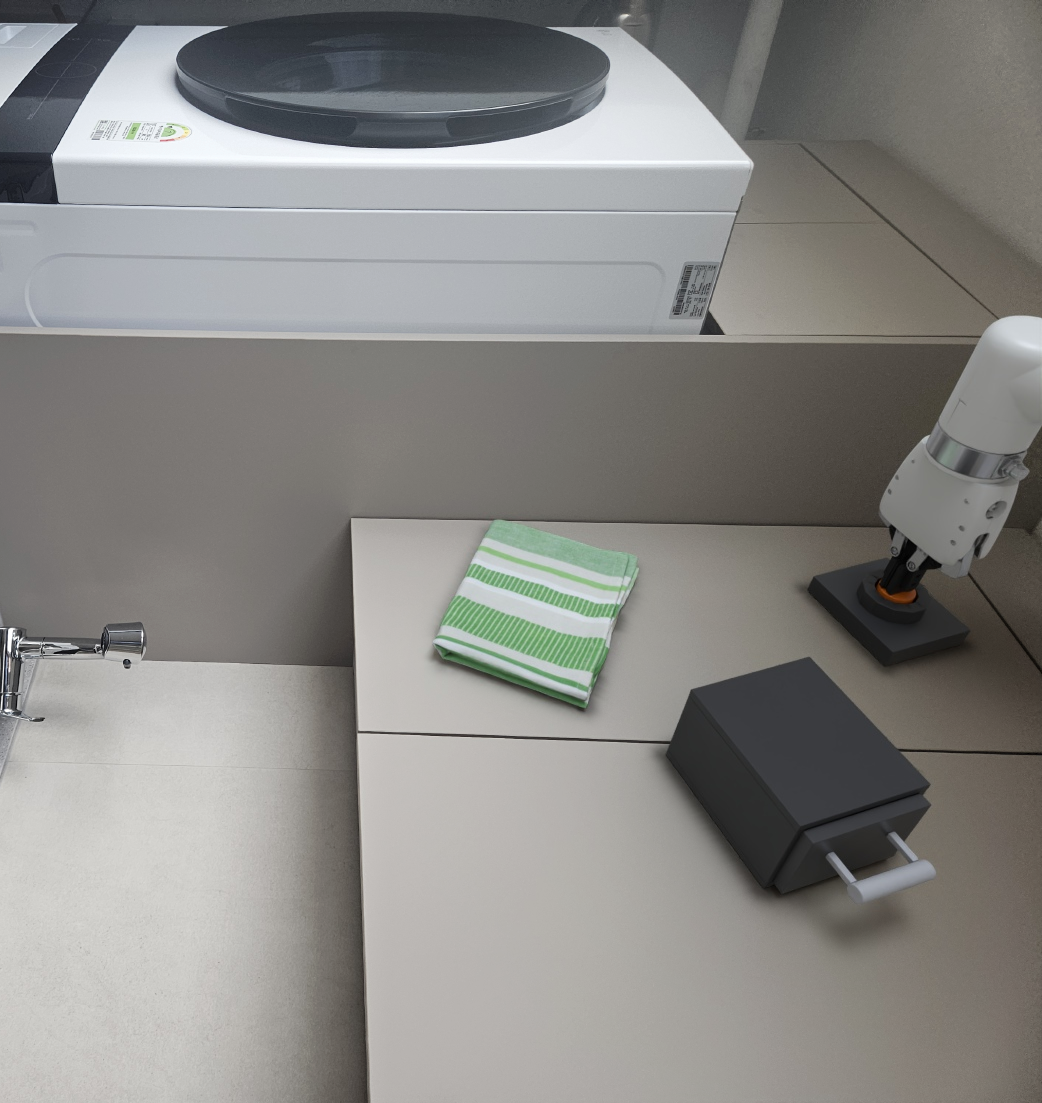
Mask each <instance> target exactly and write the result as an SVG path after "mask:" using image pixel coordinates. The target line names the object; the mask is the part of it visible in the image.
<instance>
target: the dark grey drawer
mask: <svg viewBox="0 0 1042 1103" xmlns="http://www.w3.org/2000/svg"><path fill="white" fill-rule="evenodd" d="M931 806H932V804H931V802H930V801H929V800H928V799H927V798H926V797H925V795H922V794H921V793H919V794H916V795H913V796H910V797H907V798H904V799H901V800H898V801H894V802H891V803H888V804H887V803H885V804H882V805H878V806H875V807H872V808H869V809H866V810H863V811H860V812H857V813H854V814H851V815H848V816H844V817H841V818H838V819H835V820H832V821H829V822H826V823H823V824H820V825H817V826H813V827H810V828H807V829H805V830H804V831H803V832H802V834H801V836H800V837H799V839H798V841H797V842H796V844H795V845H794V847H793V849H792V850H791V852H790V854H789V855H788V857H787V859H786V860H785V862H784V864H783V865H782V867H781V869H780V870H779V872H778V874H777V875H776V877H775V879H774V880H773V883H774V884H775V885H774V886H775V887H776V888H777V890H778V891H779V892H780V895H781V894H786V893H789V892H792V891H795V890H798V889H800V888H804V887H806V886H807V887H808V886H809V885H812V884H816V883H819V882H822V881H824V880H827V879H830V878H833V877H836V876H840V878H841V880H843V882H844V883H845V884H846V885H847V887H846V891H847V895H848V897H849V898H850V900H851V901H852V902H853V903H854V904H856V905H864V904H867V903H870V902H872V901H876V900H878V899H881V898H884V897H887V896H890V895H893V894H896V893H899V892H902V891H904V890H907V889H910V888H913V887H916V886H919V885H921V884H925V883H927V882H930V881H933V880H934V879H936V877H937V872H936V868H935V867H934V865H933V864H932V863H931V862H930V861H929V860H926V859H923V858H922V859H919V857H918V856H917V855H916V854H915V853H914V852H913V851H912V850H911V848H910V847H909V846H908V844H906V842H905V841H906V840H907V839H908V837H909V836H910V835H911V833H912V832H913V831H914V829H915V828H916V827H917V825H918V824H919V822H920V821H921V820H922V819H923V817H924V816H925V814H926V813H927V812H928V811H929V809H930V808H931ZM897 852H899V853H900V855H901V856H902V857H903V858H904V860H906V862H907V864H904V865H902V866H899V867H895V868H892V869H890V870H887V871H884V872H880V873H878V874H874V875H872V876H869V877H867V878H864V879H863V878H862V879H861V880H857V879H856V878H855V876H854V875H853V874H852V873H851V871H854V870H857V869H859V868H863V867H865V866H868V865H872V864H874V863H878V862H881V861H883V860H886V859H889V858H893V857H894V856H895V855H896V853H897Z"/></svg>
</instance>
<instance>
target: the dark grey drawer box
mask: <svg viewBox="0 0 1042 1103" xmlns="http://www.w3.org/2000/svg"><path fill="white" fill-rule="evenodd" d="M665 755H666V757H667V758H668V759H669V761H670V762H671V764H672V765H673V766H674V768H675V769H676V770H677V772H678V773H679V774H680V776H681V777H682V779H683V780H684V781H685V783H686V784H687V786H688V787H689V788H690V790H691V791H692V793H693V794H694V795H695V797H696V798H697V800H698V801H699V802H700V803H701V805H702V806H703V808H704V809H705V811H706V812H707V813H708V814H709V816H710V817H711V819H712V820H713V821H714V823H715V825H716V826H717V827H718V828H719V830H720V831H721V833H722V834H723V836H724V837H725V838H726V840H727V841H728V842H729V843H730V845H731V847H732V848H733V849H734V850H735V852H736V854H737V855H738V856H739V857H740V859H741V860H742V862H743V863H744V865H745V866H746V867H747V869H748V870H749V871H750V873H751V874H752V875H753V876H754V878H755V880H756V881H757V882H758V884H759V885H760V886H761V888H762V889H766V888H769V887H771V886H775V884H774V883H773V880H774V879H775V877H776V875H777V874H778V872H779V870H780V869H781V867H782V865H783V864H784V862H785V860H786V859H787V857H788V855H789V854H790V852H791V850H792V849H793V847H794V845H795V844H796V842H797V841H798V839H799V837H800V836H801V834H802V832H803V831H804V830H805V829H807V828H810V827H813V826H817V825H820V824H823V823H826V822H829V821H832V820H835V819H838V818H841V817H844V816H848V815H851V814H854V813H857V812H860V811H863V810H866V809H869V808H872V807H875V806H878V805H882V804H885V803H887V804H888V803H891V802H894V801H898V800H901V799H904V798H907V797H910V796H913V795H916V794H919V793H921V794H922V795H923V796H925V795H924V794H926V793H927V790H928V789H929V788H930V786H931V785H932V784H931V783H930V781H928V779H927V778H926V777H925V775H923V774H922V773H921V772H920V771H919V770H918V769H917V768H916V767H915V766H914V764H912V763H911V761H909V759H908V758H906V756H905V755H904V754H903V753H902V752H901V751H900V750H899V749H898V747H897V746H895V744H894V743H893V742H892V741H891V740H890V739H889V738H888V737H887V736H886V735H885V734H884V733H883V732H882V731H881V730H880V729H879V727H877V726H876V724H874V723H873V721H872V720H871V719H870V718H869V717H868V716H866V714H865V713H864V712H863V711H862V710H861V709H860V708H859V707H858V706H857V705H856V703H855V702H853V701H852V699H851V698H850V697H849V696H848V695H847V694H846V693H845V692H844V691H843V690H842V689H841V688H840V687H839V686H838V684H836V683H835V681H833V679H832V678H831V677H830V676H829V675H828V674H827V673H826V672H825V671H824V670H823V669H822V668H821V667H820V666H819V665H818V664H817V663H816V662H815V660H814V659H813V658H812V657H811V656H805V657H803V658H799V659H795V660H792V661H788V662H785V663H781V664H778V665H774V666H770V667H766V668H762V669H760V670H756V671H751V672H748V673H744V674H741V675H738V676H734V677H731V678H728V679H727V678H726V679H724V680H720V681H716V682H713V683H709V684H705V685H702V686H701V685H700V686H698V687H694V688H691V689H690V691H689V694H688V695H687V699H686V702H685V703H684V706H683V709H682V711H681V714H680V717H679V719H678V721H677V724H676V726H675V729H674V732H673V735H672V737H671V740H670V741H669V744H668V747H667V750H666V753H665Z"/></svg>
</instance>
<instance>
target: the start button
mask: <svg viewBox="0 0 1042 1103" xmlns="http://www.w3.org/2000/svg"><path fill="white" fill-rule="evenodd" d="M880 581H881V580H880ZM879 583H880V582H879ZM879 583H878V585H877V587H876V591H877V592H878V593H879V594H880V595H881V596H883V597H884V598H885V599H888V600H890V601H892V602H894V603H900V604H911V603H912V602H913V600H914V598H915V596H916V591H915V589H914V590H912V591H909V592H901V593H897V594H893V595H890V594H888V593H887V592H886V589H885V588H882V587H881V586H880V585H879Z"/></svg>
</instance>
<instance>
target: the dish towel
mask: <svg viewBox="0 0 1042 1103" xmlns="http://www.w3.org/2000/svg"><path fill="white" fill-rule="evenodd" d="M638 561H639V558H638V556H636V555H635V554H632V553H629V552H625V551H624V552H623V551H616V550H609V549H603V548H600V547H595V546H592V545H589V544H586V543H584V542H580V541H577V540H575V539H571V538H568V537H564V536H562V535H558V534H555V533H552V532H547V531H544V530H540V529H537V528H534V527H531V526H529V525H527V524H522V523H519V522H513V521H509V520H504V519H494V520H492V521H491V523H490V525H489V527H488V530H487V531H486V533H485V535H484V536H483V538H482V540H481V542H480V544H479V546H478V547H477V550H476V551H475V554H474V556H473V558H472V559H471V561H470V564H469V565H468V567H467V569H466V572H465V574H464V577H463V579H462V581H461V582H460V583H459V586H458V588H457V590H456V592H455V594H454V596H453V597H452V598H451V601H450V602H449V604H448V606H447V609H446V611H445V613H444V615H443V616H442V619H441V621H440V624H439V630H438V632H437V634H436V636H435V638H434V640H433V641H432V646H433V647H434V648H435V649H436V651H437V652H438V653H439V656H440V657H441V658H442V659H443V660H448V661H450V662H454V663H457V664H459V665H463V666H466V667H468V668H472V669H474V670H477V671H480V672H483V673H486V674H489V675H492V676H493V677H497V678H499V679H502V680H504V681H507V682H511V683H513V684H516V685H519V686H521V687H525V688H527V689H531V690H534V691H537V692H539V693H542V694H545V695H546V696H548V697H552V698H555V699H558V700H560V701H564V702H567V703H569V704H572V705H574V706H576V707H580V708H583V709H586V708H587V706H588V704H589V701H590V696H591V694H592V692H593V688H594V686H595V684H596V681H597V678H598V676H599V673H600V671H601V669H602V667H603V665H604V663H605V661H606V659H607V656H608V653H609V651H610V646H611V640H612V635H613V632H614V630H615V627H616V624H617V621H618V618H619V614H620V611H621V609H622V607H624V605H625V603H626V601H627V599H628V598H629V596H630V593H631V591H632V589H633V587H634V584H635V582H636V579H637V578H638V575H639V572H640V568H639V567H638V566H637V565H638Z"/></svg>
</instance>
